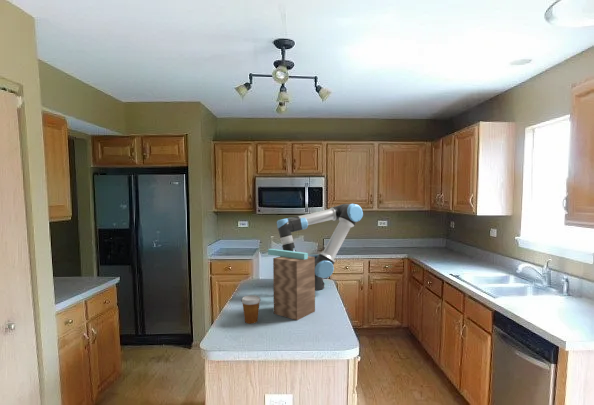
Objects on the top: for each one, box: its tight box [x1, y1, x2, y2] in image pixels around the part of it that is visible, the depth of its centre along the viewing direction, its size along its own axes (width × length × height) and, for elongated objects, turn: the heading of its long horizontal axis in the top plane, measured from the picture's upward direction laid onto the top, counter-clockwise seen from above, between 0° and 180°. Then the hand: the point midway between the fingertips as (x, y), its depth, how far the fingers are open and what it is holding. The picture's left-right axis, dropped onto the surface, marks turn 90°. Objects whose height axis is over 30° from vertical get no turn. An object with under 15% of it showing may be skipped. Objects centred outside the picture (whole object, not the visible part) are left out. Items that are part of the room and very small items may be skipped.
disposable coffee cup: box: [241, 294, 261, 325], centre depth 163 cm, size 10×10×12 cm
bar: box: [267, 248, 309, 260], centre depth 178 cm, size 26×3×3 cm, turn 52°
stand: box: [272, 256, 316, 321], centre depth 175 cm, size 16×16×30 cm
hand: (296, 276), depth 200 cm, fingers open, 13 cm apart
